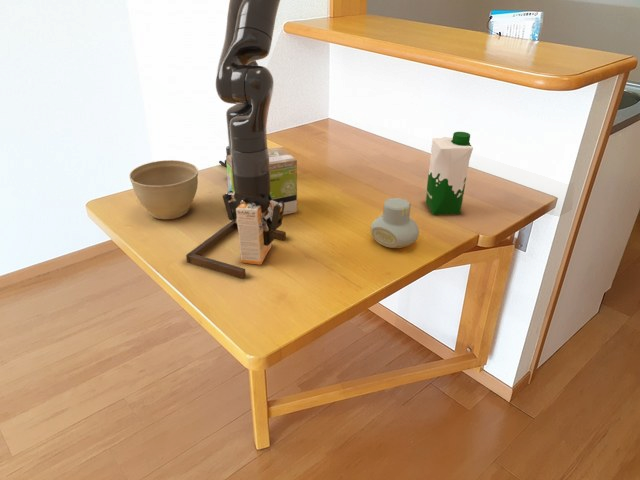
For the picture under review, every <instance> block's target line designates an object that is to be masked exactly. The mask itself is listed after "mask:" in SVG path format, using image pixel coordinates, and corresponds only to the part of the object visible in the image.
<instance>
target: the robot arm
mask: <svg viewBox="0 0 640 480" xmlns="http://www.w3.org/2000/svg"><path fill="white" fill-rule="evenodd" d="M280 2H281V0H229V3H228V9H227V17H226V25H225V32H224V33H225V34H224V39H223V45H222V48H221V51H220V52H221V53H220V55H219V60H218V62H217V68H216V76H215V90H216V93H217V96H218V98H219V99H220V100H221V101H222V102H224V103H226V104H231V105H232V106H230V107H229V108H228V109H227V110H226V111H225V117H226V126H227V127H226V128H227V140H228V141H227V142H228V145H227V146H226V147H225V152H226V153H225V154H226V156H227V155H231V163H232V175H233V186H234V191H235V193H233V191H229V192H228V191H227V192H226V193H224V194H223V195H222V200H223V204H224V207H225V211H226V214H227V219H228V220H229V221H230V222H231V221H232V220H234V221H235V222H236V224H237V214H236V208H237V204H236V201H237V203H238V204H239V205H240V204H247V203H252V204H251V205H252V206H256V207H257V206H258V205H260V206H261V211H262V213H264V212H265V211H266V213H265V215H264V216H263V215H262V213H261V221H262V224H263V229H264V231H263V235H264V245H266V246H268V245H269V244H270V243H271V242H272V243H273V241H274V240H275V238H274V235H273V231H275V230H278V228H279V227H281V226H282V224H283V223H282V222H283V218H284V215H283V212H284V205H285V204H284V202H283V201H280V202H279V203H278V202H276V201H273V200H272V198H271V196H270V188H271V185H270V165H269V154H268V149H269V148H268V137H267V136H268V135H267V134H268V133H267V124H268V118H269V117H268V116H269V112H270V111H269V110H270V106H271V102H272V99H273V95H274V94H273V93H274V89H275V81H274V77H273V74H272V72H271V71H270V70H269V69H268V68H267V67H266V66H262V65H259V64H258V62H257V61H260V60H264V59H265V58H267V57H268V56H269V55H270V53H271V48H272V42H273V37H274V32H275V31H274V30H275V25H276V20H277V19H276V18H277V14H278V10H279V6H280ZM218 163H219V164H220V165H221V166H223V167H224V168H225V167H226V168H227V165H226V159H225V160H224V161H223V160H219V161H218ZM269 206H271V208H272V210H271V212H273V216H272V217H271V212H270V209H269ZM237 227H238V224H237ZM237 235H238V236H239V233H238V232H237Z"/></svg>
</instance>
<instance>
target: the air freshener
mask: <svg viewBox="0 0 640 480" xmlns="http://www.w3.org/2000/svg"><path fill="white" fill-rule="evenodd" d="M411 206H412V205H411V203H410V202H409V200H407V199H405V198H403V197H402V198H401V197H389V198H387V199H386V200H384V202H383V208H382V209H383V210H382V211H383V212H382V215H380V216H378V217H377V218H375V220H373V221H372V223H371V226H370V233H371V236H372V238H373V239H374V240H375V241H376V242H377V243H378V244H379V245H382V246H384V247H386V248H389V249H390V248H391V249H402V248H406V247H408V246H411V245H412V244H414V243H415V242H416V241H417V240H418V237H419V235H420V228H419V225H418V223H417V222H416V221H415V220H414V219H413V218H411V217H410V214H411Z"/></svg>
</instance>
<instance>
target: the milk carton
mask: <svg viewBox="0 0 640 480" xmlns="http://www.w3.org/2000/svg"><path fill="white" fill-rule="evenodd" d="M470 140H471V134H470V133H469V132H467V131H455V132H453V134H452V137H446V136H445V137H444V136H443V137H433V138H432V142H431V151H430V158H429V167H428V174H427V182H426V183H427V184H426V197H425V204H426V206H427V207H428V209H429V210H430V213H431V214H432V216H442V215H461V211H462V206H463V200H464V194H465V187H466V182H467V177H468V171H469V170H468V169H469V164H470V159H471V156H472V153H473V150H474V147H473V146H472V144H471V142H470Z"/></svg>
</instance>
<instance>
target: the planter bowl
mask: <svg viewBox="0 0 640 480" xmlns="http://www.w3.org/2000/svg"><path fill="white" fill-rule="evenodd" d="M198 176H199V168H198V167H197V166H196V165H195V164H193V163H190V162H187V161H183V160H175V159H165V160H157V161H151V162H146V163H144V164H143V163H142V164H141V165H139V166H137V167H135V168H134V169H132V170H131V171H130V173H129V180H130V182H131V186H132V190H133V192H134V195H135V196H136V198H137V200H138V201H139V203H140V204H141V205H142V206H143V208H145V209H146V210H147V211H148V212H149V214H150V216H151V217H152V218H155V219H158V220H174V219H178V218H181V217H182V216H185V215H186V214H188V212H189V209H190V206H191V204H192V203H193V201H194V199H195V197H196V195H197V190H198V182H199V179H198Z"/></svg>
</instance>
